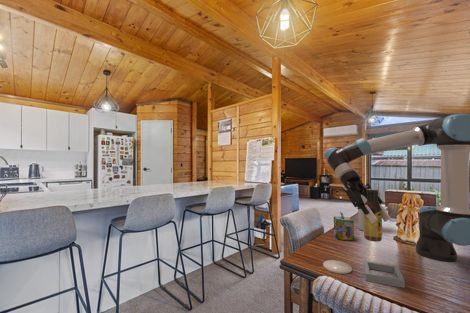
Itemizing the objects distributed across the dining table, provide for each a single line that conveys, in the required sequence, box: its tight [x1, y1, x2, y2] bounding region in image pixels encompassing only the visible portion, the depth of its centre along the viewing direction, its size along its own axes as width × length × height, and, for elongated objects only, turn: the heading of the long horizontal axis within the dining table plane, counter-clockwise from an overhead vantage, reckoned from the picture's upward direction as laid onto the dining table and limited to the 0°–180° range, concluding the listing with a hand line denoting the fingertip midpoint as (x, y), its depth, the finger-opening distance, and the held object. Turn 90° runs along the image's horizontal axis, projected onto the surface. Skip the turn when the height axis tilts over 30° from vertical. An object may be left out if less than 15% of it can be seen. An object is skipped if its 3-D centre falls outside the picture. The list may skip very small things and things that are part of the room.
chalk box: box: [333, 211, 355, 241], centre depth 135 cm, size 9×9×15 cm
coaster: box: [322, 259, 353, 275], centre depth 96 cm, size 11×11×1 cm
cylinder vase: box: [357, 191, 381, 232], centre depth 151 cm, size 12×12×25 cm
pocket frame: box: [362, 259, 406, 289], centre depth 89 cm, size 12×13×2 cm
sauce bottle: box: [363, 188, 383, 243], centre depth 91 cm, size 7×6×20 cm
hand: (381, 220), depth 88 cm, fingers closed on sauce bottle, 6 cm apart
